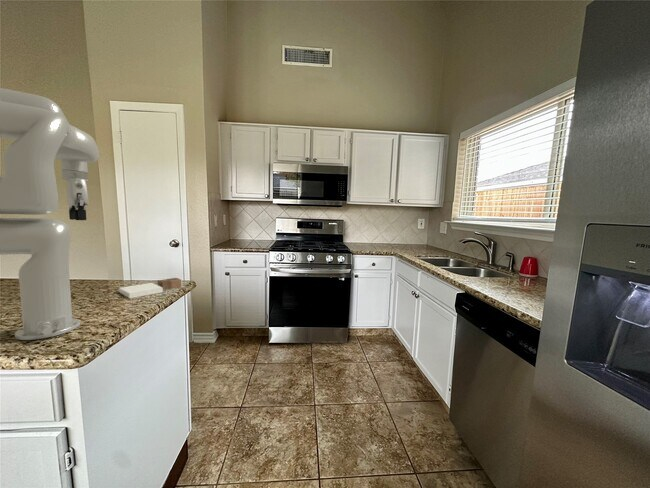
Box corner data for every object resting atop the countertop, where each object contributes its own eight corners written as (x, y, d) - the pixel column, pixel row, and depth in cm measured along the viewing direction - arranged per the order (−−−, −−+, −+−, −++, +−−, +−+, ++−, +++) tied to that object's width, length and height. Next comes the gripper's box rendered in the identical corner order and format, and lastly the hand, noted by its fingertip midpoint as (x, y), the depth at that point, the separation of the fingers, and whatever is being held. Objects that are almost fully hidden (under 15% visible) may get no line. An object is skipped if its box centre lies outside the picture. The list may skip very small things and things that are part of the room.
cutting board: (162, 291, 112) (162, 287, 112) (129, 298, 103) (129, 293, 103) (151, 287, 119) (151, 282, 119) (119, 292, 110) (119, 287, 110)
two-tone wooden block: (163, 290, 115) (182, 286, 122) (163, 282, 115) (181, 279, 121) (157, 287, 119) (176, 284, 125) (157, 280, 118) (176, 277, 125)
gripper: (93, 176, 100) (96, 220, 102) (82, 179, 111) (84, 219, 112) (66, 173, 94) (69, 220, 96) (57, 176, 105) (60, 219, 106)
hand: (77, 219), depth 104 cm, fingers open, 9 cm apart
